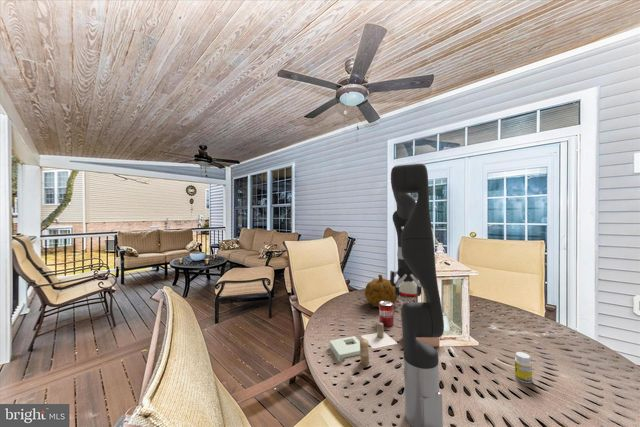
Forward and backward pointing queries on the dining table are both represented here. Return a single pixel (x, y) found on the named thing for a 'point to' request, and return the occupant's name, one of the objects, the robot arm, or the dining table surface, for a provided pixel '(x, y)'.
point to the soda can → (386, 313)
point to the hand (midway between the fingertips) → (408, 295)
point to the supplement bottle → (523, 367)
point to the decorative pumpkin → (380, 291)
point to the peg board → (345, 347)
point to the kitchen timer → (408, 288)
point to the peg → (364, 352)
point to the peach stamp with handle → (427, 340)
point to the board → (379, 338)
